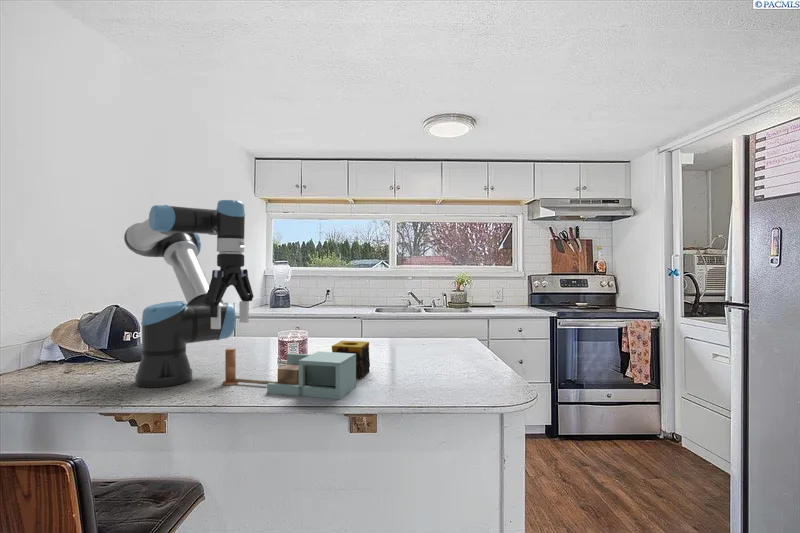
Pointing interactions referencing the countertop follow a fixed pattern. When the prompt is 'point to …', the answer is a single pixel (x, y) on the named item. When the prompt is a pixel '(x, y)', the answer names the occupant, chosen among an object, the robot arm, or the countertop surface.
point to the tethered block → (285, 376)
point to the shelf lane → (320, 375)
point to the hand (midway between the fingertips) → (230, 325)
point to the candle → (361, 355)
